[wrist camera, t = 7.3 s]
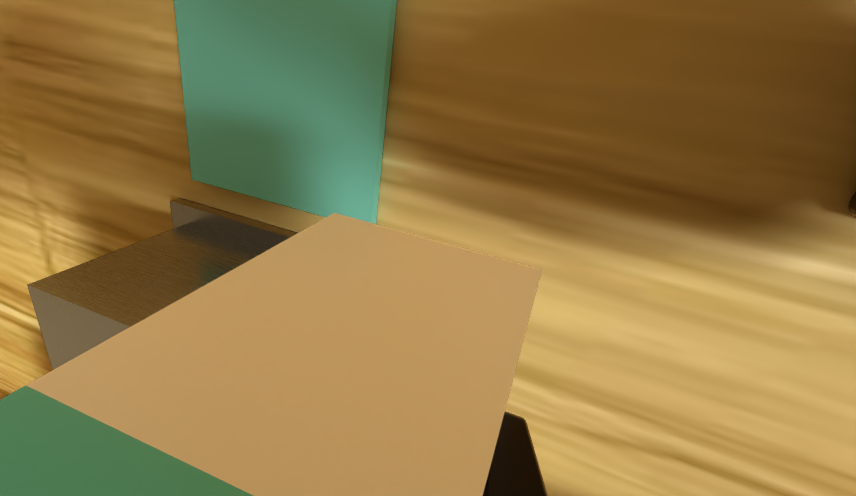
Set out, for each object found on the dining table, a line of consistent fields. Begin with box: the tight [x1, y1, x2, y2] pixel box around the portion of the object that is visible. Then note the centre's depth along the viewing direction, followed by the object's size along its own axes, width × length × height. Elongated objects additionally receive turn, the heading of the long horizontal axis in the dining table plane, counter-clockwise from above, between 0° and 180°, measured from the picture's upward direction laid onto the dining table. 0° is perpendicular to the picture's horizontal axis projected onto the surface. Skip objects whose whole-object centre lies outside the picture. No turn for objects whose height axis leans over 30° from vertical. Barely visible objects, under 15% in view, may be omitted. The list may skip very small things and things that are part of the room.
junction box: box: [27, 198, 297, 370], centre depth 21 cm, size 9×13×8 cm
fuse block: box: [0, 213, 542, 496], centre depth 6 cm, size 4×5×6 cm
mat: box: [174, 0, 397, 224], centre depth 18 cm, size 10×12×1 cm
